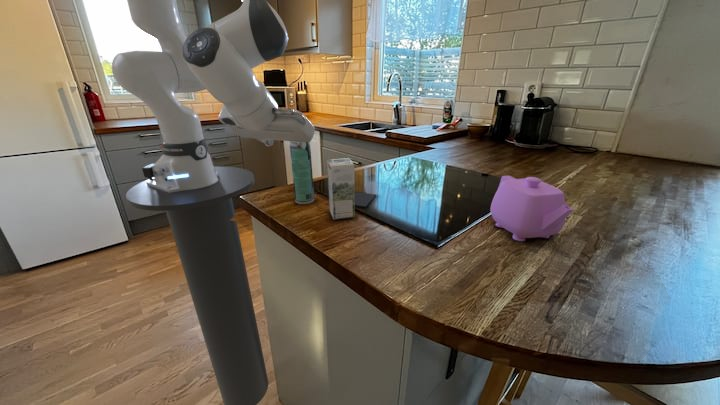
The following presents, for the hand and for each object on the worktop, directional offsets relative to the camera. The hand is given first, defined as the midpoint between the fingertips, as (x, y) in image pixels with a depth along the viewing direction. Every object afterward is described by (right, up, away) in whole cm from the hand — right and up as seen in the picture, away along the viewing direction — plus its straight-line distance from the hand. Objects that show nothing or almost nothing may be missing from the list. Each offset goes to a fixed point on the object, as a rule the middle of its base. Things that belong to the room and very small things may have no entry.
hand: (286, 145), depth 74 cm
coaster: (+17, -14, +12) cm, 25 cm away
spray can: (+2, -14, +12) cm, 19 cm away
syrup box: (+14, -18, +4) cm, 23 cm away
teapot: (+56, -21, -5) cm, 60 cm away
